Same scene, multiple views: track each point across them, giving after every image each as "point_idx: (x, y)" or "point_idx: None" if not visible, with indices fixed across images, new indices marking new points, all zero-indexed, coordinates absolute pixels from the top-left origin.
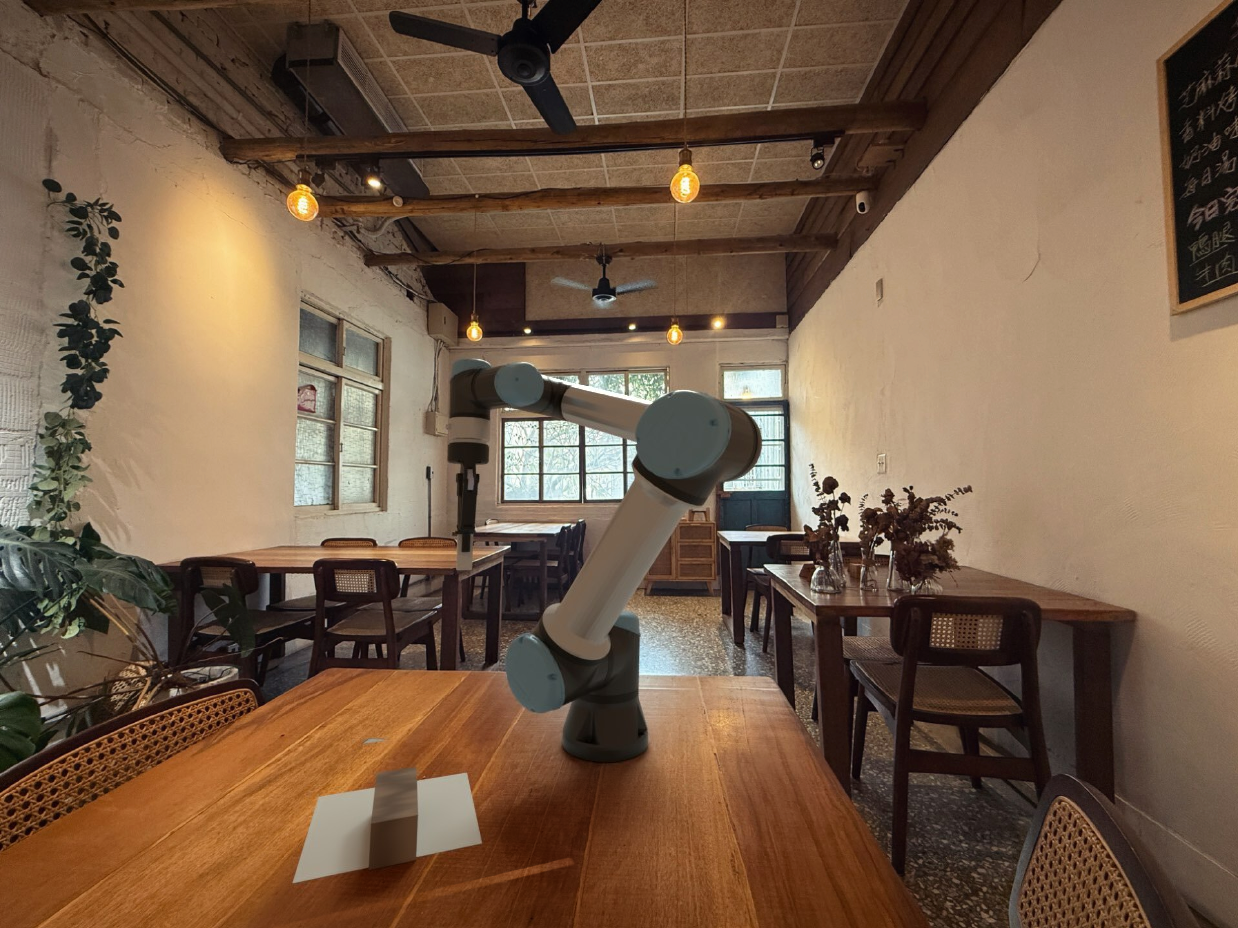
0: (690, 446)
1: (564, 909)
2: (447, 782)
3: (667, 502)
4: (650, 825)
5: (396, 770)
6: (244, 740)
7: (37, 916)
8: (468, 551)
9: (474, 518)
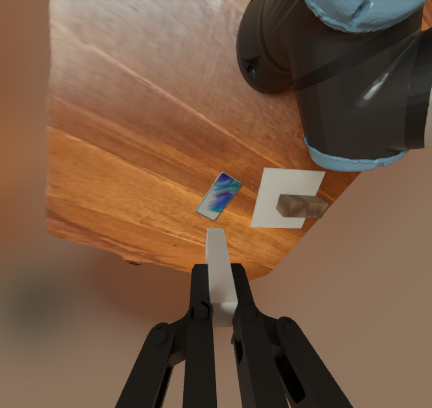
0: None
1: None
2: (269, 178)
3: None
4: None
5: (286, 209)
6: (175, 257)
7: (271, 270)
8: (240, 266)
9: (333, 381)
